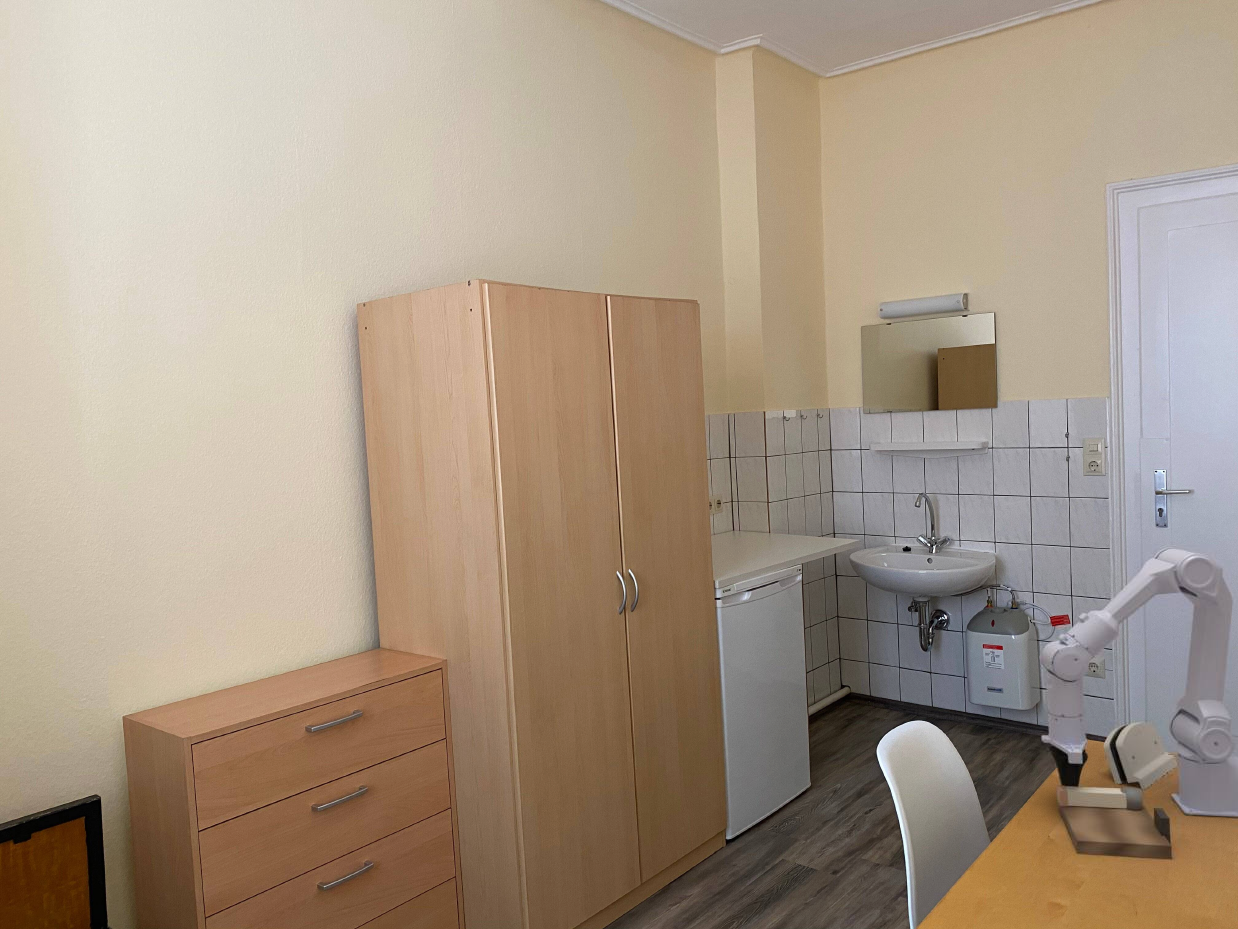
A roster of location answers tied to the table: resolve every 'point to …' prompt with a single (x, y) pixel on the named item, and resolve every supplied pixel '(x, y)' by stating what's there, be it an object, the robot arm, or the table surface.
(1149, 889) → the table surface
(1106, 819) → the stool seat
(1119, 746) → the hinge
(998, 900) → the table surface
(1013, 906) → the table surface
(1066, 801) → the folding leg
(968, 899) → the table surface
